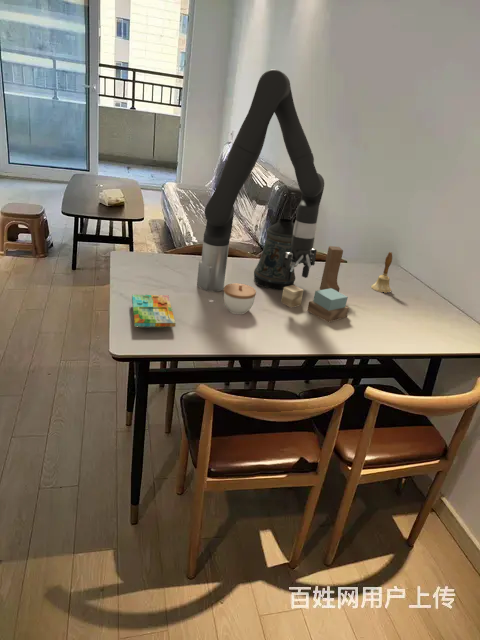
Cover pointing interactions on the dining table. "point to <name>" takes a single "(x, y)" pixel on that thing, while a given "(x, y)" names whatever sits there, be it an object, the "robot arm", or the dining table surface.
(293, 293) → the maple block
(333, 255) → the wooden block
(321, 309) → the tower base
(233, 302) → the lidded jar
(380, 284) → the hand bell
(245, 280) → the dining table surface
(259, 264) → the beer stein
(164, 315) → the puzzle game
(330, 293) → the tower top
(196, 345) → the dining table surface
